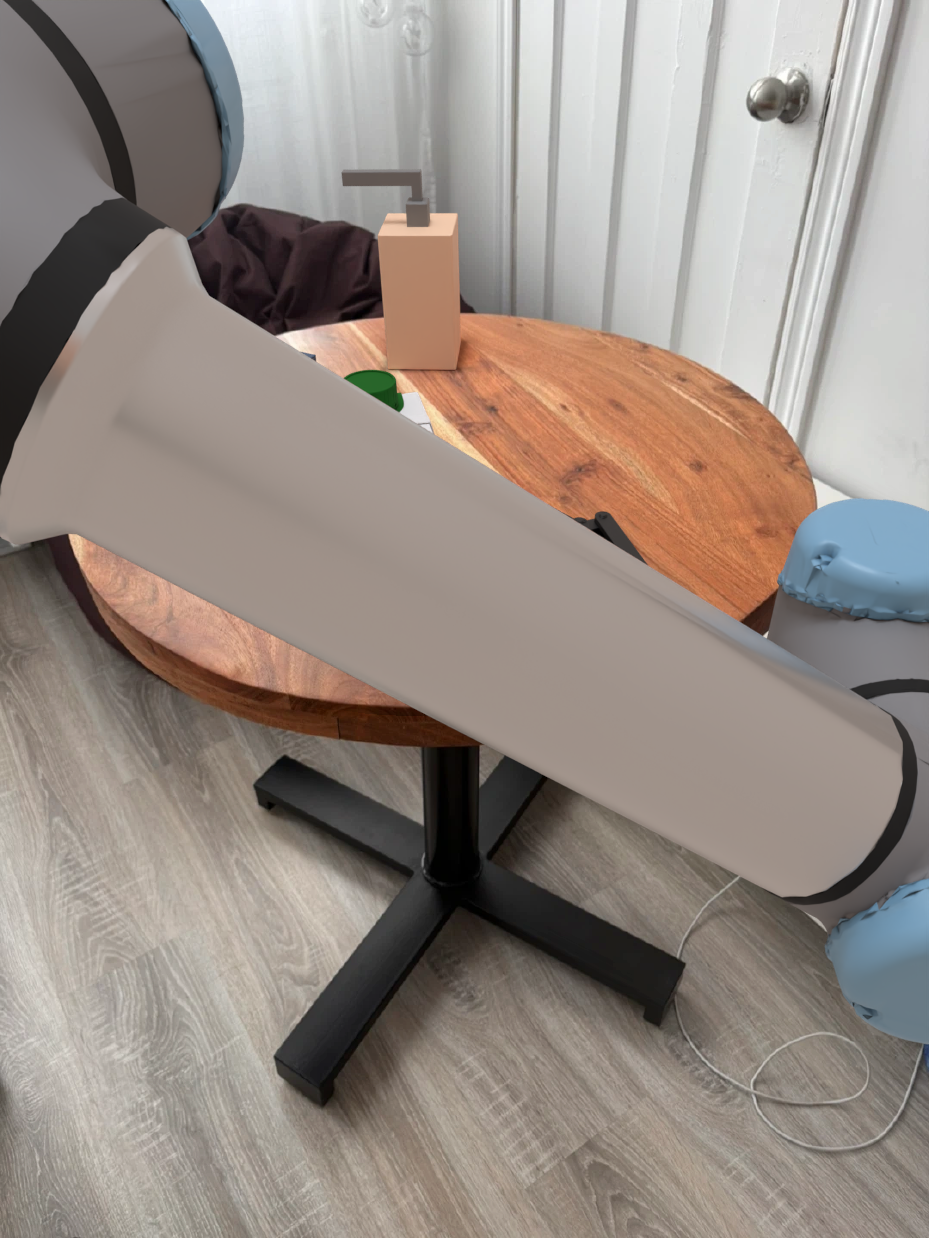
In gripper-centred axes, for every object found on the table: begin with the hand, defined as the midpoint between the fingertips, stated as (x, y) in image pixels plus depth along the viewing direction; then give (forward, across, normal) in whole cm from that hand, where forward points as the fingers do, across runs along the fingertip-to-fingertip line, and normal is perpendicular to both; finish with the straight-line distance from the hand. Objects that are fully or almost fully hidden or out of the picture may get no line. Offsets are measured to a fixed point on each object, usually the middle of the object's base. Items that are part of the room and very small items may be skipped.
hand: (432, 536), depth 67 cm
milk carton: (+6, 0, -11) cm, 12 cm away
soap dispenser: (+46, +34, -11) cm, 59 cm away
